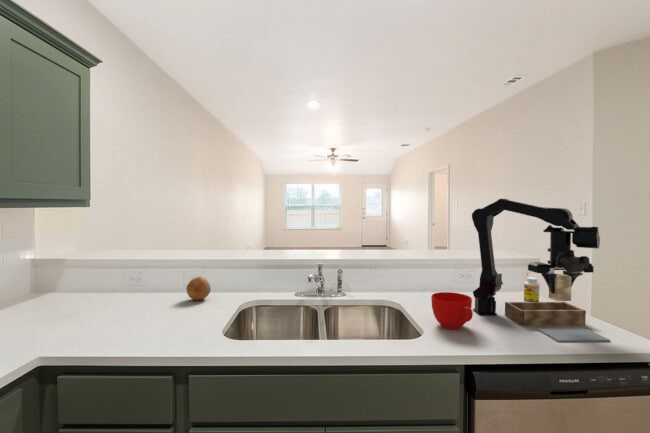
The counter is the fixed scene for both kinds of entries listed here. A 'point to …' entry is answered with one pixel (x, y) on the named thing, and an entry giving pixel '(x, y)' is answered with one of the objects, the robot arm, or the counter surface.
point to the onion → (198, 288)
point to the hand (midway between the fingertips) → (559, 293)
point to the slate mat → (573, 335)
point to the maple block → (561, 288)
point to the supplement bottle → (531, 290)
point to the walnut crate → (544, 313)
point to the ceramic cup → (451, 309)
